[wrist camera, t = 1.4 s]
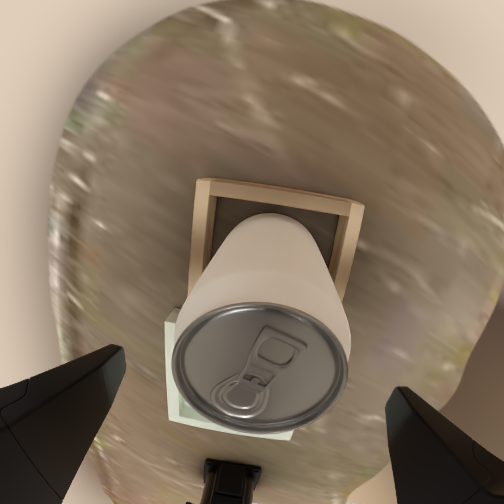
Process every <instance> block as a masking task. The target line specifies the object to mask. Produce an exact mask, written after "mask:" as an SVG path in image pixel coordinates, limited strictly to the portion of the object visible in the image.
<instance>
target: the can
mask: <svg viewBox="0 0 504 504" xmlns="http://www.w3.org/2000/svg"><path fill="white" fill-rule="evenodd" d="M350 351H351V334H350V328H349V324H348V320H347V317H346V314H345V311H344V308H343V306H342V303H341V301H340V298H339V295H338V293H337V290H336V288H335V286H334V283H333V281H332V278H331V276H330V274H329V271H328V269H327V266H326V264H325V262H324V260H323V257H322V255H321V253H320V251H319V248H318V246H317V244H316V242H315V240H314V238H313V237H312V235H311V234H310V232H309V231H308V230H307V229H306V228H305V227H304V226H303V225H302V224H301V223H299V222H298V221H296V220H295V219H293V218H291V217H288V216H285V215H282V214H277V213H263V214H258V215H254V216H251V217H249V218H247V219H245V220H243V221H242V222H241V223H239V224H238V225H237V226H236V227H235V228H234V229H233V230H232V231H231V232H230V233H229V235H228V236H227V237H226V239H225V240H224V242H223V243H222V245H221V246H220V248H219V249H218V251H217V252H216V254H215V255H214V257H213V258H212V260H211V261H210V263H209V264H208V266H207V267H206V269H205V270H204V272H203V274H202V275H201V277H200V278H199V280H198V281H197V283H196V284H195V286H194V288H193V289H192V291H191V292H190V294H189V296H188V297H187V299H186V301H185V303H184V304H183V306H182V308H181V310H180V313H179V315H178V318H177V321H176V325H175V330H174V349H173V353H172V359H171V369H172V375H173V379H174V382H175V384H176V387H177V389H178V391H179V392H180V394H181V395H182V397H183V398H184V399H185V401H186V402H187V403H188V404H189V405H190V406H191V407H192V408H193V409H194V410H195V411H196V412H198V413H199V414H200V415H202V416H203V417H204V418H206V419H208V420H209V421H211V422H213V423H215V424H217V425H219V426H222V427H225V428H227V429H230V430H234V431H238V432H243V433H249V434H278V433H284V432H289V431H293V430H296V429H299V428H302V427H304V426H307V425H309V424H311V423H313V422H314V421H316V420H318V419H319V418H321V417H322V416H324V415H325V414H326V413H327V412H328V411H329V410H330V409H331V408H332V407H333V406H334V405H335V404H336V403H337V401H338V400H339V398H340V397H341V395H342V393H343V391H344V389H345V386H346V383H347V378H348V360H349V356H350Z"/></svg>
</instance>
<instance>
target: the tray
mask: <svg viewBox="0 0 504 504" xmlns="http://www.w3.org/2000/svg"><path fill="white" fill-rule="evenodd" d="M180 310H181V309H178V308H173V310H172V311H171V313H170V314H169V316H168V317H167V319H166V320H165V360H166V383H167V400H168V414H169V420H171V421H175V422H179V423H183V424H187V425H192V426H196V427H201V428H206V429H211V430H216V431H221V432H227V433H233V434H239V435H246V436H253V437H261V438H269V439H279V440H290V438H291V436H292V433H293V431H294V430H293V431H289V432H284V433H278V434H249V433H243V432H238V431H234V430H230V429H227V428H225V427H222V426H219V425H217V424H215V423H213V422H211V421H209V420H208V419H206V418H204V417H203V416H202V415H200V414H199V413H198V412H196V411H195V410H194V409H193V408H192V407H191V406H190V405H189V404H188V403H187V402H186V401H185V399H184V398H183V397H182V395H181V394H180V392H179V391H178V389H177V387H176V384H175V382H174V379H173V375H172V369H171V359H172V353H173V349H174V330H175V325H176V321H177V318H178V315H179V313H180Z"/></svg>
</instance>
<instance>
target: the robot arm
mask: <svg viewBox="0 0 504 504" xmlns="http://www.w3.org/2000/svg"><path fill="white" fill-rule="evenodd" d="M125 371H126V361H125V353H124V349H123V347H121V346H118V345H115V344H110V345H108V346H105V347H103V348H101V349H98V350H96V351H94V352H91V353H89V354H87V355H84V356H82V357H79V358H77V359H75V360H72V361H70V362H67V363H65V364H63V365H60V366H58V367H56V368H53V369H51V370H48V371H45V372H43V373H41V374H38V375H36V376H33V377H31V378H30V379H25V380H23V381H20V382H18V383H15V384H12V385H9V386H6V387H3V388H0V504H61V503H62V502H63V499H64V497H65V495H66V493H67V491H68V489H69V487H70V485H71V483H72V480H73V479H74V477H75V475H76V473H77V471H78V469H79V467H80V465H81V463H82V461H83V459H84V457H85V455H86V453H87V451H88V449H89V447H90V446H91V444H92V442H93V440H94V438H95V436H96V434H97V432H98V430H99V429H100V427H101V425H102V423H103V421H104V419H105V417H106V416H107V414H108V412H109V410H110V408H111V406H112V404H113V401H114V399H115V396H116V394H117V391H118V389H119V386H120V384H121V381H122V379H123V376H124V374H125ZM385 413H386V424H387V436H388V447H389V453H390V458H391V464H392V470H393V476H394V482H395V489H396V496H397V503H398V504H504V461H502V460H501V459H499V458H498V457H496V456H494V455H493V454H491V453H490V452H489V451H487V450H486V449H485V448H483V447H482V446H481V445H479V444H478V443H477V442H476V441H475V440H473V439H472V438H471V437H469V436H468V435H467V434H466V433H464V432H463V431H462V430H461V429H459V428H458V427H457V426H456V425H454V424H453V423H452V422H451V421H449V420H448V419H447V418H446V417H444V416H443V415H442V414H441V413H439V412H438V411H437V410H436V409H434V408H433V407H432V406H431V405H429V404H428V403H427V402H426V401H424V400H423V399H422V398H421V397H419V396H418V395H417V394H416V393H414V392H413V391H412V390H411V389H409V388H408V387H406V386H398V387H396V388H395V389H394V390H393V392H392V394H391V396H390V398H389V399H388V401H387V403H386V407H385ZM260 474H261V468H260V467H254V466H246V465H239V464H232V463H226V462H220V461H215V460H210V459H206V460H205V465H204V483H205V486H204V490H203V495H202V499H201V503H200V504H252V498H253V491H254V490H255V487H256V485H257V482H258V479H259V477H260ZM186 504H192V503H190V502H186Z"/></svg>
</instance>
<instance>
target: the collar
mask: <svg viewBox="0 0 504 504" xmlns="http://www.w3.org/2000/svg"><path fill="white" fill-rule="evenodd" d="M217 196H220V197H228V198H235V199H243V200H250V201H257V202H264V203H270V204H277V205H283V206H290V207H296V208H302V209H308V210H314V211H320V212H325V213H331V214H337V215H339V220H338V225H337V230H336V235H335V240H334V245H333V250H332V254H331V259H330V263H329V268H328V271H329V274H330V276H331V278H332V281H333V283H334V286H335V288H336V290H337V293H338V295H339V298H340V301H341V303H342V301H343V298H344V294H345V290H346V286H347V283H348V279H349V275H350V271H351V267H352V263H353V259H354V254H355V250H356V246H357V241H358V237H359V232H360V227H361V223H362V218H363V213H364V208H365V205H363V204H361V203H359V202H357V201H355V200H352V199H347V198H342V197H337V196H331V195H326V194H320V193H315V192H309V191H303V190H297V189H291V188H284V187H278V186H271V185H265V184H258V183H250V182H243V181H235V180H228V179H219V178H211V177H205V178H201V179H197V183H196V192H195V202H194V213H193V224H192V237H191V250H190V265H189V281H188V296H189V294H190V292H191V291H192V289H193V288H194V286H195V284H196V283H197V281H198V280H199V278H200V277H201V275H202V274H203V272H204V270H205V269H206V267H207V266H208V264H209V263H210V259H211V249H212V239H213V229H214V219H215V210H216V201H217Z"/></svg>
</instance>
